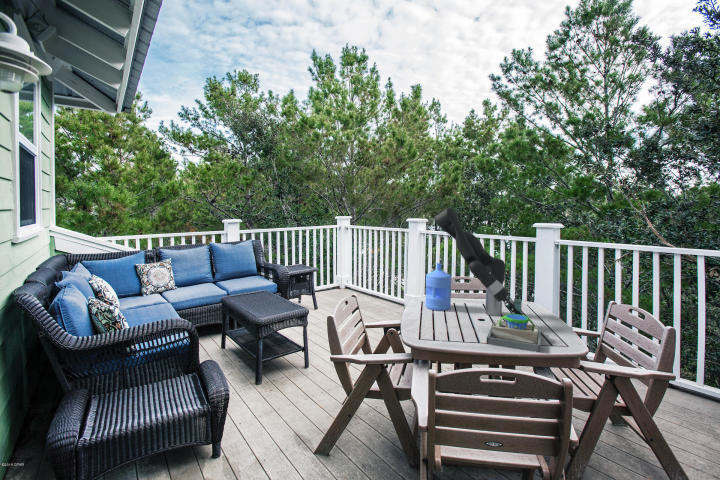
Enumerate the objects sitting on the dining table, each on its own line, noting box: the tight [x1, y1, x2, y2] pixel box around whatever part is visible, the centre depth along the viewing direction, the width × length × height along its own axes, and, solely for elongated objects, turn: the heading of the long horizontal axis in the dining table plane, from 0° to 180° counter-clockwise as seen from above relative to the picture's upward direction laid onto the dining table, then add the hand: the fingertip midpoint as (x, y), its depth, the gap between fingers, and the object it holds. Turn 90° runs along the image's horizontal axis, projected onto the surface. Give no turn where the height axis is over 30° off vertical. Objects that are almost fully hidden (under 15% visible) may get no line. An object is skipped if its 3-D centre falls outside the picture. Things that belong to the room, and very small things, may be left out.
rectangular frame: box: [486, 321, 542, 353], centre depth 174 cm, size 26×22×3 cm
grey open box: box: [491, 298, 539, 344], centre depth 181 cm, size 23×20×14 cm
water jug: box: [425, 262, 452, 312], centre depth 228 cm, size 16×16×28 cm
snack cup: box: [498, 313, 535, 332], centre depth 176 cm, size 16×10×10 cm
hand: (521, 316), depth 189 cm, fingers closed on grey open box, 3 cm apart
